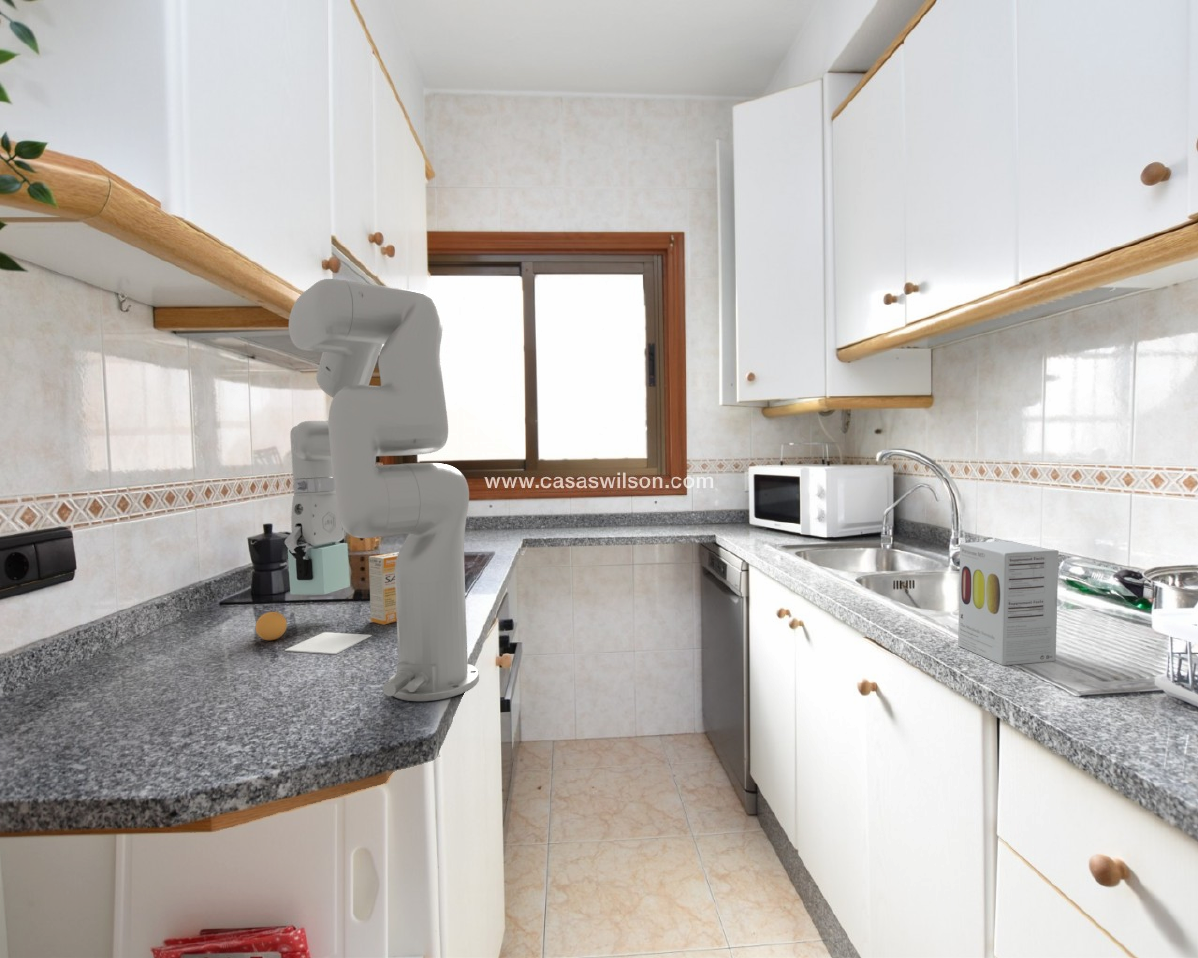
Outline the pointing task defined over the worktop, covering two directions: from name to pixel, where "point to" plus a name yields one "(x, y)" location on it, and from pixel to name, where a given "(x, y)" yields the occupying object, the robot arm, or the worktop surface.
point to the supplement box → (383, 588)
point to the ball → (271, 626)
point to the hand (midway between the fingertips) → (319, 575)
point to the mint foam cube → (322, 570)
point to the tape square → (328, 643)
